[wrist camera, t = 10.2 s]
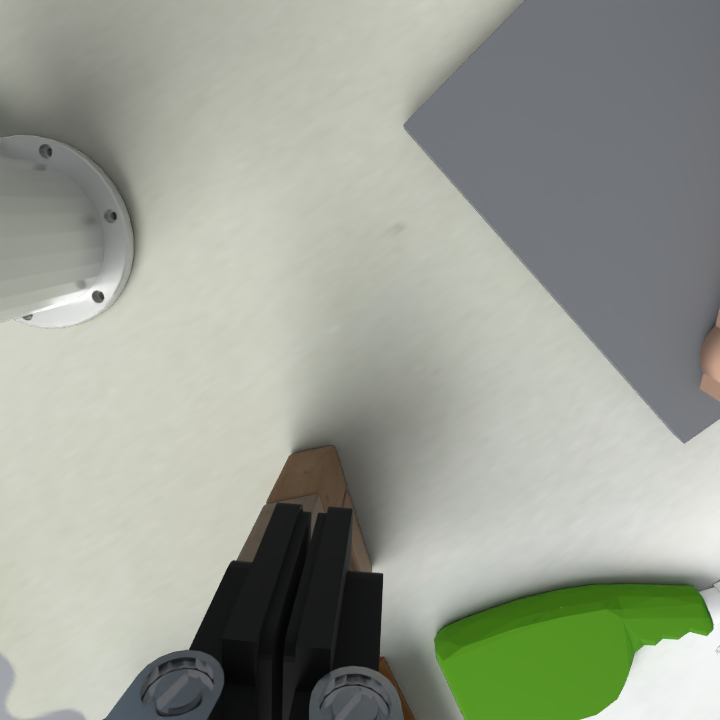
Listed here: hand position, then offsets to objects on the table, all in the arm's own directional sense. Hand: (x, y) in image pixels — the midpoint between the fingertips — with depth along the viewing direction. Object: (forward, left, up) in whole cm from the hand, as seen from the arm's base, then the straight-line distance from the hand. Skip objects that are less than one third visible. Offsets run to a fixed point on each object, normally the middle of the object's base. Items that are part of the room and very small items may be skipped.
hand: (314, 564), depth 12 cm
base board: (+6, +19, -27) cm, 33 cm away
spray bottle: (+29, -4, -27) cm, 40 cm away
